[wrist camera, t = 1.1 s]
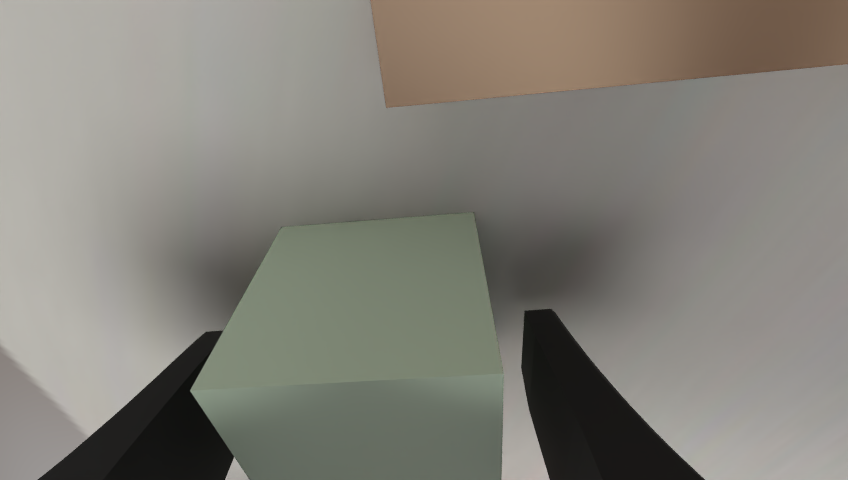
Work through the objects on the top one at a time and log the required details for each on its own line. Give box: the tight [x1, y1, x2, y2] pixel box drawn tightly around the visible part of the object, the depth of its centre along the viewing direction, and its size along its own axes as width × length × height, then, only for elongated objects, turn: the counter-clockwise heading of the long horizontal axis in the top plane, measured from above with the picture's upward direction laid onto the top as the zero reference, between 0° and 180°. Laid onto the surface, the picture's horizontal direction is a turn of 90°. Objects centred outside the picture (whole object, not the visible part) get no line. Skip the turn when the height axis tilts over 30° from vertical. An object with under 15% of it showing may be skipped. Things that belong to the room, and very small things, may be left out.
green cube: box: [190, 212, 504, 480], centre depth 10 cm, size 5×5×5 cm
